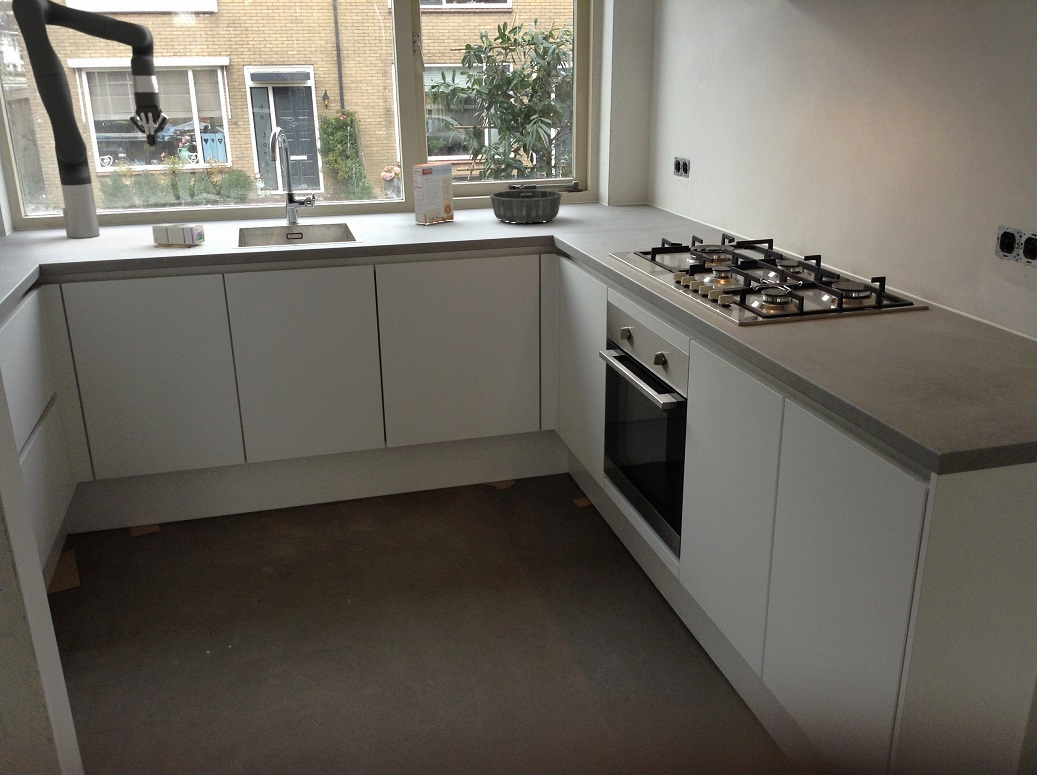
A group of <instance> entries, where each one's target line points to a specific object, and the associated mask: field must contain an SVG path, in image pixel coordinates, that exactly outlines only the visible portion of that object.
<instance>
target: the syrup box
mask: <svg viewBox="0 0 1037 775" xmlns="http://www.w3.org/2000/svg"><path fill="white" fill-rule="evenodd" d="M151 227H152V237H153V243H154V244H155V245H157V244H189V245H195V246H197V245H199V243H200V244H201V243H204V241H205V242H206V239H205V232H204V231H205V230H204V226H203V224H196V223H195V224H194V223H193V224H191V223H186V224H185V223H159V224H156V225H152V226H151ZM196 244H197V245H196Z"/></svg>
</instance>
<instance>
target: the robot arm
mask: <svg viewBox="0 0 1037 775" xmlns="http://www.w3.org/2000/svg"><path fill="white" fill-rule="evenodd" d="M11 10H12V12H13V17H14V19H15V22H16V24H17V26H18V29H19V31H20V34H21V36H22V39H23V41H24V45H25V48H26V49H25V50H26V53H27V56H28V60H29V63H30V64H29V65H30V66H31V70H32V74H33V77H34V79H33V80H34V81H35V84H36V88H37V91H38V95H39V97H40V99H41V102H42V105H43V107H44V109H45V111H46V113H47V116H48V118H49V120H50V125H51V129H52V134H53V138H54V140H53V141H54V151H55V158H56V163H57V168H58V175H59V181H60V185H61V191H62V197H63V204H64V207H62V214H63V221H64V226H65V232H66V237H67V238H73V239H81V238H82V239H86V238H94V237H99V236H100V228H99V221H98V215H97V213H98V212H97V208H96V207H97V206H96V201H95V200H96V199H95V194H94V189H93V183H92V176H91V171H90V170H91V169H90V166H89V159H88V158H89V157H88V149H87V144H86V142H85V140H84V138H83V136H82V133H81V131H80V129H79V126H78V125H79V124H77V120H76V117H75V112H74V111H75V110H74V105H73V104H74V103H73V98H72V93H71V88H70V84H69V79H68V77H67V74H66V70H65V68H64V65H63V63H62V61H61V58H60V57H59V55H58V54H57V52H56V50H55V49H54V47H53V45H52V43H51V41H50V38H49V35H48V31H47V26H56V27H63V28H66V29H71V30H73V31H75V32H79V33H82V34H85V35H88V36H90V37H93V38H98V39H102V40H106V41H112V42H117V43H119V44H123V45H126V46H129V47H131V55H132V57H131V58H130V70H131V75H132V78H131V79H132V89H133V90H132V91H133V97H134V98H133V99H134V104H135V111H134V112H135V113H134V114H133V116H130V117H129V121H130V122H131V123H132V124H133V125H134V126H135V127H136V129H138V131H139V132H140V133H143V134H145V135H146V140H147V144H148V146H149V148H150V147H157V145H159V142H158V134H159V133H162V132H163V131H164V129H165V128H166V126H167V124H168V122H169V121H170V119H171V118H170V116H167V115H165V114H164V113H163V110H162V108H161V101H160V100H161V99H160V93H159V92H160V91H159V86H158V84H159V83H158V80H157V75H156V68H155V61H154V59H155V58H154V57H155V56H154V54H155V53H154V52H155V51H154V48H155V47H154V46H155V43H154V36H153V34H152V33H153V32H152V31H151V30H150V29H149V28H148V27H147V26H146V25H143V24H139V23H135V22H130V21H125V20H119V19H117V18H114V17H112V16H108V15H104V14H100V13H95V12H91V11H87V10H82V9H78V8H74V7H73V8H72V7H68V6H66V5H62V4H61V3H57V2H56V1H53V0H12V2H11ZM159 120H160V122H159Z"/></svg>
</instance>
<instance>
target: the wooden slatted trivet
mask: <svg viewBox="0 0 1037 775" xmlns="http://www.w3.org/2000/svg"><path fill="white" fill-rule="evenodd" d="M191 246H193V245H189V244H155V245H153V248H154V247H190V248H192V247H191ZM193 247H194V246H193Z"/></svg>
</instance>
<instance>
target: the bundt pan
mask: <svg viewBox="0 0 1037 775" xmlns="http://www.w3.org/2000/svg"><path fill="white" fill-rule="evenodd" d="M562 196H563V192H559V191H555V190H549V189H545V190H543V189H516V190H515V189H511V190H503V191H497V192H492V193H491V194H490V195H489V198H490V199H491V204H492V205H491V206H492V210H493V214H494V216H495V217H496V219H497V220H499V219H501V220H502V221H501V222H503V221H509V222H517V223H516V224H519V223H524V224H526V223H527V222H528V223H532V224H533V223H534V222H541V223H542V222H543V221H548V222H550V221H552V219H553V220H554V219H555V218H556V217H557V216H558V214H559V212H560V205H561V200H562ZM525 222H526V223H525ZM528 223H527V224H528Z"/></svg>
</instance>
